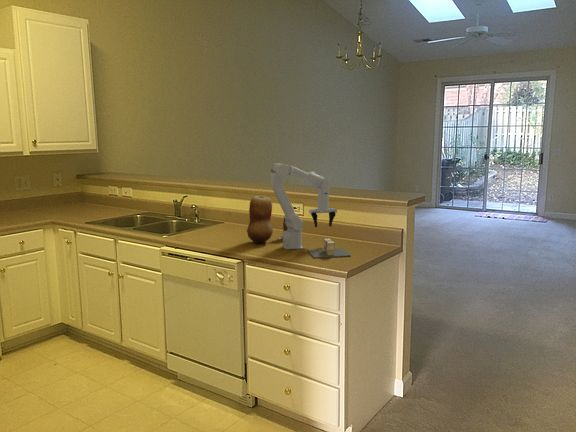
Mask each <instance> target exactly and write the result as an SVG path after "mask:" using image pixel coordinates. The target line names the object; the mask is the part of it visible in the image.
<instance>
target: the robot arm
mask: <svg viewBox="0 0 576 432" xmlns="http://www.w3.org/2000/svg"><path fill="white" fill-rule="evenodd" d="M269 173H270V187H271V189H272V190H273V193H274V195H275V197H276V199H277V201H278V204H279V205H280V208H281V210H282V212H283V214H284V216H283V219H284V218H285V224H286V226H287V227H288V228H287V231H282V236H283V239H282V247H283V248H284V250H298V249H299V250H300V249H301V250H302V249H304V247H303V245H302V239H303V238H302V235H303V234H302V231H303V230H302V229H303V228H304V226H305V225H304V221H303V219H301V218H300V216H299V215H298V213H296V211H295V209H294V207H293V205H292V203H291V201H290V198H289V196H288V195H287V192H286V190H285V188H284V186H283V183H284V181H285V180H286V179H287V177H288V176H289V175H291V176H292V175H294V176H297V177H299V178H301V179H304V180H305V182H306V183H307V184H309V185H312V186H315V187H316V188H317V208H312V209H309V210H308V213H309V214H310V216H311V217H312V220H313V224H314V227H315V228H317V227H318V214H323V213H324V214H328V226H329V227H331V228H332V225H333V221H334V219H335V217H336V215H337V214H338V208H332V207H331V208H329V207H330V204H329V202H330V188H331V187H332V183H331V181H330V179H329V178H327V177H323V175H321V174H320V175H318V173H317V174H316V172H315V171H308V172H306V171H304V170H302V169H300V168H298V167H296V166H293V165H290V164H289V165H288V164H286V163H279V162H275V163H273V164H272V166H271V168H270V170H269Z"/></svg>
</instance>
